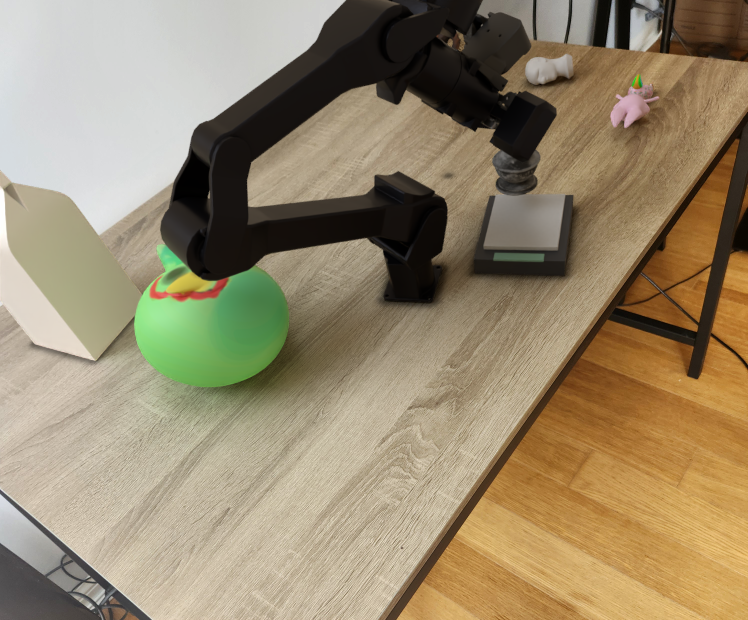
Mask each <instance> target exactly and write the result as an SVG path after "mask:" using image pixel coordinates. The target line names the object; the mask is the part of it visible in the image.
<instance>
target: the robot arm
mask: <svg viewBox="0 0 748 620" xmlns="http://www.w3.org/2000/svg"><path fill="white" fill-rule="evenodd" d="M483 1H484V0H344V1H343V3H341V4H340V6H338V8H337V9H336V10H335V11H334V12H333V13H332V14H331V15H329V17H328V18H327V19H326V20H325V21H324V23H323V24H322V26H321V29H320V31H319V33H318V36H317V38H316V40H315V41H314V42H313V43H312V44H311V46H309V47H308V48H307V49H306V50H305V51H304V52H302V53H301V54H300V55H299V56H296V58H295V59H293V60H291V61H290V62H288V63H287V64H286V65H284V66H283V67H282V68H280V69H279V70H278V71H276V72H275V73H274V74H272V75H271V76H270V77H268V78H267V79H265V80H264V81H263V82H261V83H260V84H258V86H256V87H254V88H253V89H252V90H250V91H249V92H248V93H246V94H245V95H243V96H242V97H241V98H239V99H238V100H237V101H235V102H234V103H233V104H232V105H230V106H228V107H227V108H226V109H225V110H223V111H222V112H220V113H219V114H218V115H216V116H214V118H211V119H210V120H205V121H203V122H201V123H199V124H198V125H197V126H196V127H195V128H194V129H193V132H192V134H191V137H190V142H189V147H188V152H187V156H186V157H185V160H184V162H183V163H182V166H181V167H180V169H179V171H178V173H177V175H176V177H175V179H174V181H173V183H172V189H171V194H170V199H169V204H168V209H167V210H166V211H165V212H164V214H163V216H162V218H161V220H160V226H159V233H160V236H161V240H162V241H163V244H165V245H166V246H167V247H168V248H169V249H170V250H171V251H172V252H173V253H174V254H175V255H176V256H177V257H178V258H179V259H180V260H181V261H182V262H183V263H184V264H185V265H186V266H187V267H188V268H189V269H190V270H191V271H192V272H193V273H194V274H195V275H197V276H198V277H200V278H201V279H203V280H206V281H218V280H222V279H225V278H228V277H231V276H234V275H237V274H239V273H242V272H245V271H248V270H250V269H251V268H252V267H253V266H254V265H257V264H258V263H259V262H260V261H261V260H262V259H264V258H265V256H267V255H271V254H276V253H283V252H289V251H290V252H291V251H295V250H301V249H302V250H303V249H307V248H308V249H309V248H314V247H320V246H327V245H333V244H339V243H345V242H352V241H358V240H365V239H367V240H368V241H369V243H371V244H372V245H375V246H376V247H377V248H379V249H381V250H382V254H383V260H384V262H385V267H386V271H387V275H388V281H387V283H386V287H385V290H384V293H383V296H382V297H383V300H384V301H386V302H401V303H402V302H403V303H404V302H407V303H425V304H426V303H427V304H431V303H433V302H434V301H435V298H436V294H437V290H438V287H439V283H440V279H441V276H442V274H443V265H441V264H433V263H434V262H433V259H434V258H435V257H437V256H438V255H440V254H441V253H442V252H443V250H444V245H445V238H446V232H447V225H448V219H449V218H448V212H449V209H448V203H447V201H446V199H445V197H443V196H441V195H439V194H437V193H436V190H434V189H432V188H431V187H428V186H427V185H425V184H423V183H422V182H419V181H418V180H416V179H414V178H412V177H410V176H409V175H407V174H405V173H403V172H401V171H399V170H397V171H396V172H394V173H391V174H378V173H376V174H374V176H373V181H374V182H373V186H372V187H371V188H369V190H368V191H367V192H366V193H365V194H359V195H350V196H341V197H332V198H323V199H316V200H315V199H314V200H306V201H297V202H296V201H295V202H287V203H280V204H271V205H261V206H249V190H248V179H249V174H250V170H251V166H252V163H253V162H254V161H256V160H257V159H258V158H259V157H261V156H262V155H263V154H265V153H266V152H268V151H269V150H271V148H272V147H275V145H277V144H278V143H280V142H281V141H282V140H283V139H285V138H286V137H287V136H289V135H291V133H293V132H294V131H295V130H296V129H298V128H299V127H301V126H302V125H304V123H306V122H308V120H309V119H311V118H312V117H314V116H315V115H317V114H318V113H319V112H320V111H322V110H323V109H324V108H325V107H327V106H328V105H329V104H331V103H332V102H334V101H335V100H336V99H337V98H339V97H340V96H341V95H343V94H345V93H347V92H349V91H351V90H354V89H355V90H356V89H358V88H364V87H368V86H372V85H375V92H376V97H377V98H378V99H381V100H384V101H386V102H388V103H390V104H392V105H395V106H399V105H400V104H401V101H402V99H403V98H404V95H405V93H406V91H407V92H409V94H412V95H413V96H415V97H417V98H418V99H420V102H421V103H423V104H424V105H426V106H428V107H429V108H430V109H432V110H435V112H438V113H439V114H441V115H446V116H448V117H450V118H451V121H454V122H456V123H457V124H459V125H461V126H462V127H464V128H468V129H469V130H471V131H472V132H474V133H476V132H477V131H478V129H485V130H494V131H493V133H492V136H491V138H490V139H489V143H490V144H491V145H492V146H493V147H494V148H496V149H498V150H499V151H500V150H501V151H503V152H505V153H506V154H508V155H510V156H511V157H513V158H515V159H516V160H518V161H520V162H521V163H524V162H526V161H529V159H530V158H531V156H532V155H533V153H534V151H535V150H537V149H538V147H539V145H540V143H541V142H542V140H543V138H544V137H545V136H546V134H547V132H548V130H549V129H550V127H551V126H552V124H553V122H554V121H555V119H556V117H557V116H558V112H557V107H555V106H554V105H553V104H552V103H550V102H549V101H548V100H545V99H544V98H541V97H540V96H539V95H538V96H537V95H536V94H533V93H532V92H529V91H528V90H524V91H518V92H517V94H515V92H513V91H507V92H506V93H505V94H502V92H503V91H504V89H505V88H506V86H507V85H508V82H509V80H508V79H507V78H506V77H504V76H503V75H505V74H506V73H508V72H509V71H510V70H511V69H512V68H513V67H514V66H515V65H516V63H517V62H518V61H519V60H520V59H521V58H522V57H523V56H526V55H527V54H528V53H529V52H530V51H531V49H532V42H531V40H530V38H529V36H528V34H527V31H526V28H525V26H524V24H523V22H522V20H521V18H518V17H515V16H513V15H509V14H507V13H505V12H501V11H499V12H492V11H489V12H488V13H487V16H488V17H485V16H484V15H482V14H481V13H480V14H479V13H478V12H479V9H480V7H481V6H482V3H483ZM456 33H458V34H461V35H462V37H463V43H464V44H463V49H462V50H460V49H459V50H458V49H456V48H454V47H452V46H451V45H449V43H448V44H446V43H445V42H444V41H442V40H441V39H439V38H438V37H437V35H439V34H442V35H444V36H447V37H450V38H454V37H455V35H456ZM500 92H501V93H500ZM504 105H506V106H504Z"/></svg>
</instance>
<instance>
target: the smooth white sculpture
mask: <svg viewBox="0 0 748 620" xmlns="http://www.w3.org/2000/svg"><path fill="white" fill-rule="evenodd" d="M573 61H574V60H573V55H571V54H569V53H565V54H564V55H562V56H561V57H557V58H547V57H543V56H535V57H532V58H531V59H529V60H528V61H527V62H526V65H525V68H524V74H525V77H526V80H527V81H528V82H529V83H530V84H532V85H534V86H538V85H540V84H541V85H545V84H547V83H550V82H554V81H555V80H557V78H558V77H564V78H566V79H568V80H570V79H571V78H572V77H574V73H575V72H574V63H573Z"/></svg>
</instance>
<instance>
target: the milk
mask: <svg viewBox="0 0 748 620" xmlns="http://www.w3.org/2000/svg"><path fill="white" fill-rule="evenodd" d="M142 295H143V293H142V292H141V291H140V289H138V287H137V286H136V284H135V283H134V281H133V280H132V279H131V278H130V276H129V275H128V273H127V272H126V270H125V269H124V268H123V267H122V265H121V264H120V262H119V261H118V259H117V258H116V257H115V255H114V254H113V253H112V252H111V250H110V249H109V248H108V246H107V245H106V243H105V242H104V241H103V239H102V238H101V237H100V235H99V234H98V232H97V231H96V230H95V228H94V227H93V226H92V224H91V223H90V221H89V220H88V219H87V218H86V216H85V214H84V213H83V212H82V211H81V209H80V208H79V207H78V205H77V204H76V202H75V201H74V200H73V199H72V198H71V197H70V196H69V195H67V194H65V193H63V192H60V191H57V190H53V189H48V188H43V187H39V186H32V185H28V184H23V183H22V184H21V183H17V182H12V180H11V179H10V178H9V177H7V175H6V174H5V173H4V172H3V171H2V170H1V169H0V303H1V304H2V306H4V308H5V309H6V310H7V311H8V312H9V314H10V315H11V317H12V318H13V319H14V320H15V322H16V323H17V324H18V326H20V328H21V329H22V330H23V332H24V333H25V334H26V335H27V337H28V338H29V339H30V340H31V342H33V344H34V345H36V346H40V347H43V348H47V349H51V350H54V351H58V352H60V353H61V352H62V353H65V354H69V355H73V356H76V357H79V358H83V359H86V360H91V361H94V362H96V361H97V360H98V359H99V358H100V357H101V356H102V355H103V353H104V352H105V351H106V350H107V349H108V348H109V346H110V345H111V344H112V343H113V342H114V341H115V340H116V338H117V337H118V336H119V335H120V334H121V333H122V331H123V330H124V329H125V328H126V327H127V325H128V324H130V322H131V321H132V320H133V319H134V318H135V313H136V309H137V306H138V303H139V301H140V298H141V296H142Z"/></svg>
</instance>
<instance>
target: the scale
mask: <svg viewBox="0 0 748 620" xmlns="http://www.w3.org/2000/svg"><path fill="white" fill-rule="evenodd" d="M574 196H575V195H574V194H566V193H526V194H523V195H518V196H511V195H505V194H502V193H501V194H499V193H498V194H493V195H492V194H490V195H489V196H488V200H487V204H486V207H485V212H484V215H483V219H482V223H481V228H480V232H479V235H478V239H477V243H476V247H475V250H474V254H473V255H474V256H473V267H474V274H481V275H482V274H483V275H486V274H487V275H488V274H489V275H515V276H516V275H521V276H550V277H552V276H553V277H565V275H566V269H567V261H568V253H569V244H570V238H571V237H570V236H571V229H572V221H573V214H574V199H575V197H574Z"/></svg>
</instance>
